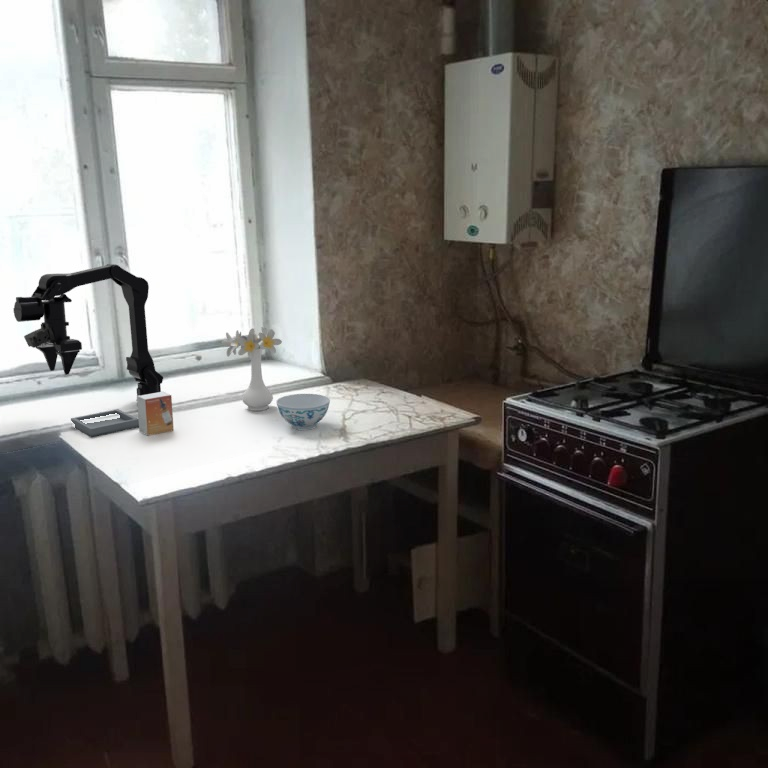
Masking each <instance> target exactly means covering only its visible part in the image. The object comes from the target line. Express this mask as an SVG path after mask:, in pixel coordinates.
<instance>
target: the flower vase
mask: <svg viewBox="0 0 768 768" xmlns="http://www.w3.org/2000/svg"><path fill="white" fill-rule="evenodd" d="M275 334H276V332H275V331H274V329H272V328H271V329H269V330H268V332H267V330H266V328H265V327H264V326H262V327H261V332H258V333H256V331H255V328H253V327H252V328H251V329H249V332H248V334H245V335H242V331H240V332H239V330H236V331H235V338H232V336H231V335H230V334H229V332H225V338H226V339H227V340H226V339H223V340H222V341H221V344H222V346H224V347H226V348H227V349H226V356H227V357H230V356H231V355H232V353H233V355H234V356H236V355H237V354H238V356H243V355H245V354H247V356H248V358H249V360H250V367H251V368H250V372H251V373H250V374H251V377H250V383H249V385H248V387H247V389H246V390H245V391H244V392H243V393H242V397H241V398H242V403H243V404H245V405H246V406H247V410H249V411H253V412H261V411H267V409H268V408H269V405H270V404H271V403H272V402H273V399H274V396H273V393H272V392H271V390H270V388H268V387H267V386H266V384H265V382H264V380H263V373H262V353H263V350H266V349H268V350H269V352H271V354H276V353H277V349H276V347H275V346H279V345H281V344H282V342H283V341H282V339H280V338H274V337H275ZM260 342H261V343H260ZM259 343H260V344H259ZM238 348H240V349H238ZM237 349H238V352H237Z"/></svg>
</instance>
